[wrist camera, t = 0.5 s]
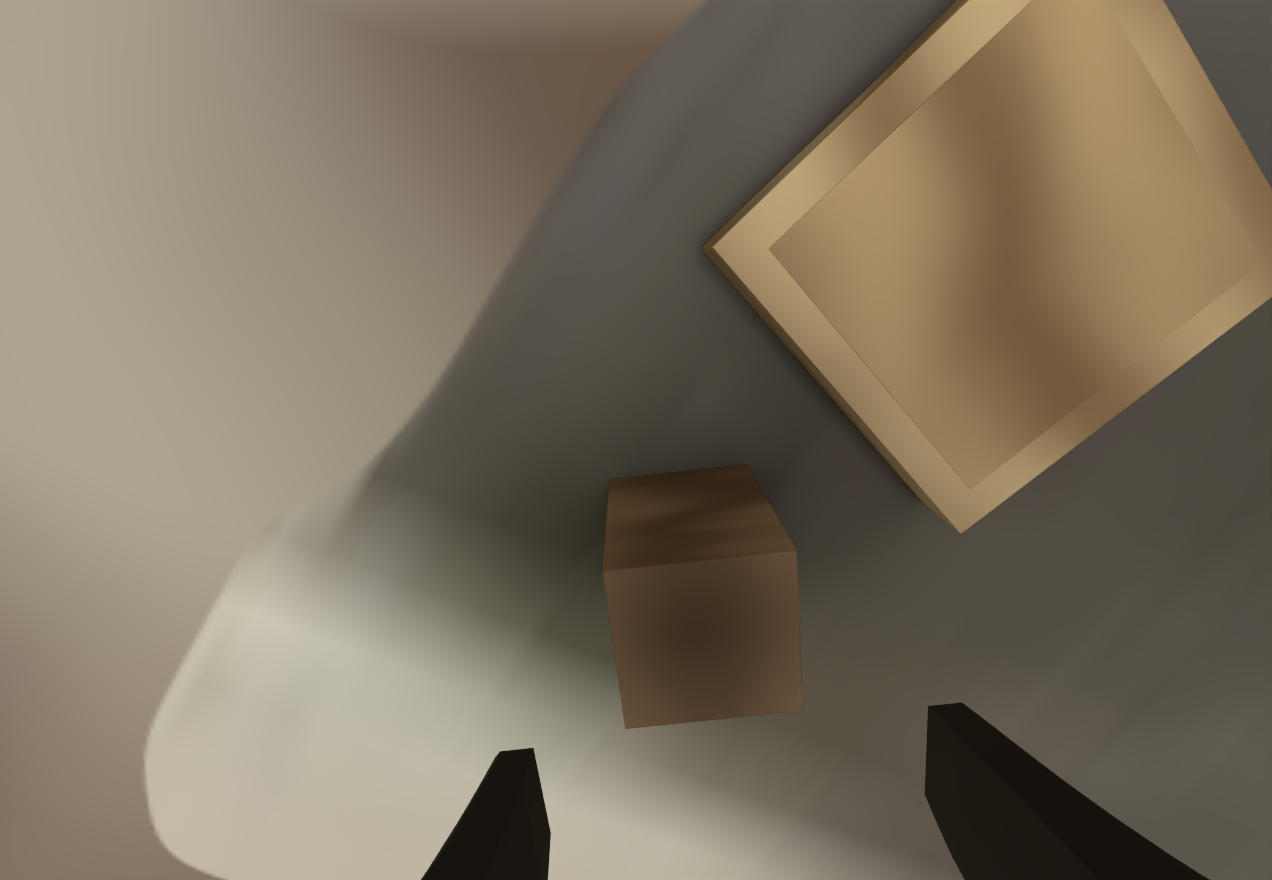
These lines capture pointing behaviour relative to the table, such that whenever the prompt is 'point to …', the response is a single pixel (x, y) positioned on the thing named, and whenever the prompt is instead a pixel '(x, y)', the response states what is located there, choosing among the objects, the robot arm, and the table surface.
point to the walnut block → (701, 598)
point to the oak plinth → (1008, 240)
